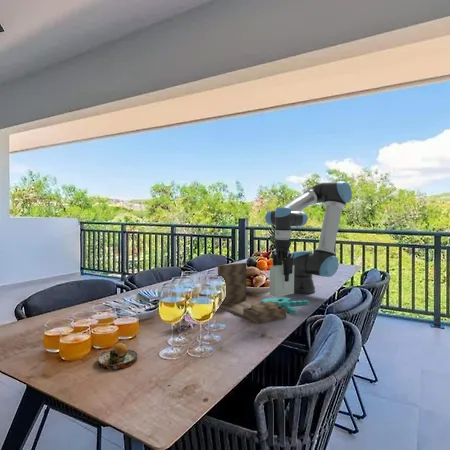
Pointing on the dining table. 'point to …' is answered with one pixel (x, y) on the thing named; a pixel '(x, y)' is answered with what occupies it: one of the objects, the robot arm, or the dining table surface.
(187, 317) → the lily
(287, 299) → the teal pixel art cutout
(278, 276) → the sage sheet
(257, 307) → the upper offcut
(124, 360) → the small appetizer plate
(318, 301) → the dining table surface
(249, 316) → the rack
